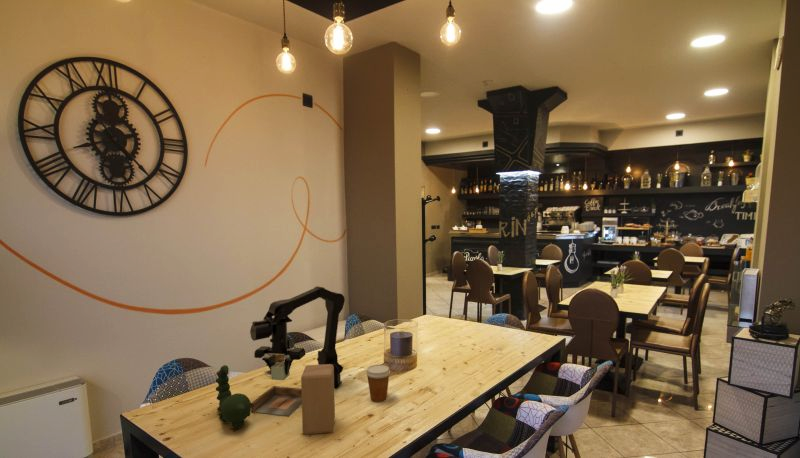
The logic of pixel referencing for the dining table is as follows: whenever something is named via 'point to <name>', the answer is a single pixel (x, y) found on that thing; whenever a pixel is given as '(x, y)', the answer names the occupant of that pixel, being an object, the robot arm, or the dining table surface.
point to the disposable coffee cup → (378, 382)
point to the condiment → (277, 359)
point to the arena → (278, 401)
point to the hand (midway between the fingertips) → (280, 374)
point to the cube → (278, 371)
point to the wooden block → (318, 399)
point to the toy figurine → (231, 401)
